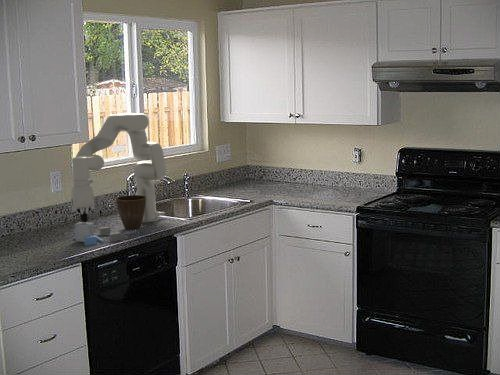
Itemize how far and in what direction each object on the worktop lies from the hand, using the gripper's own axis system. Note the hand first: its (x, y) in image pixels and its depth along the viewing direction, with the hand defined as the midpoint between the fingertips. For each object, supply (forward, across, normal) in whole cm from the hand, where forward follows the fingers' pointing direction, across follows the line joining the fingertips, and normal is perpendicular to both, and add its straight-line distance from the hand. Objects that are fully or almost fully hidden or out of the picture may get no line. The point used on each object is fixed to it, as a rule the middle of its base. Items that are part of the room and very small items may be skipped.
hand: (84, 221), depth 330 cm
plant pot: (+9, -28, -12) cm, 32 cm away
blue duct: (+9, -2, 0) cm, 9 cm away
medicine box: (+10, 0, 0) cm, 10 cm away
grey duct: (+9, -14, 0) cm, 17 cm away
